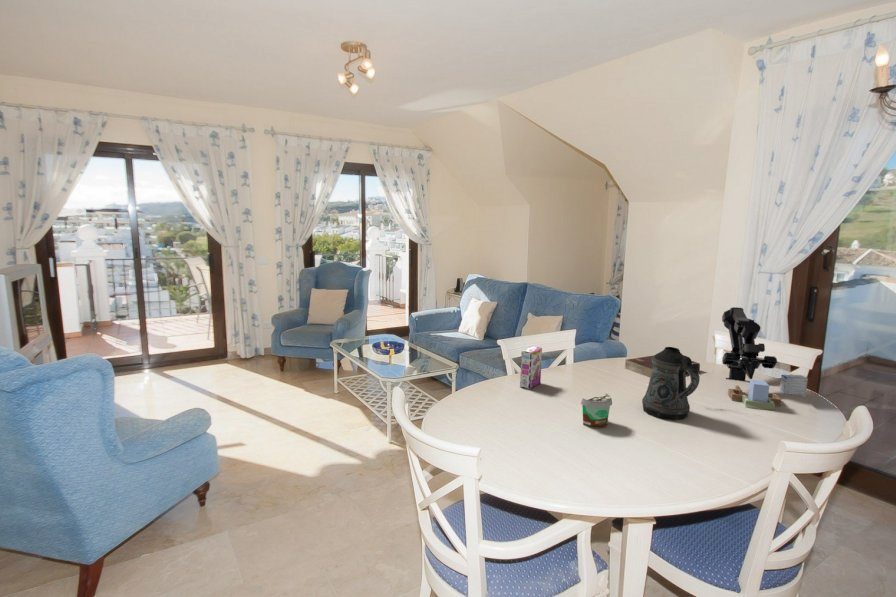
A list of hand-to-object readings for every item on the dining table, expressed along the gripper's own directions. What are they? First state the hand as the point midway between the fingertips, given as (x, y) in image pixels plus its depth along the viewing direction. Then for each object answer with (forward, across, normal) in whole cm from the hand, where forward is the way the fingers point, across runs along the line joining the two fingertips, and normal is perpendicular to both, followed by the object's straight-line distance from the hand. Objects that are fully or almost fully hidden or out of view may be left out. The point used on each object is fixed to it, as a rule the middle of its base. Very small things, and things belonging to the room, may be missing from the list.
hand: (751, 378), depth 195 cm
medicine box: (0, +18, +13) cm, 22 cm away
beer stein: (+26, -32, -14) cm, 44 cm away
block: (+13, 0, -4) cm, 14 cm away
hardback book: (-14, -31, +28) cm, 44 cm away
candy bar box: (+17, -87, -5) cm, 89 cm away
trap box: (+10, 0, +2) cm, 10 cm away
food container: (+41, -56, -29) cm, 76 cm away
